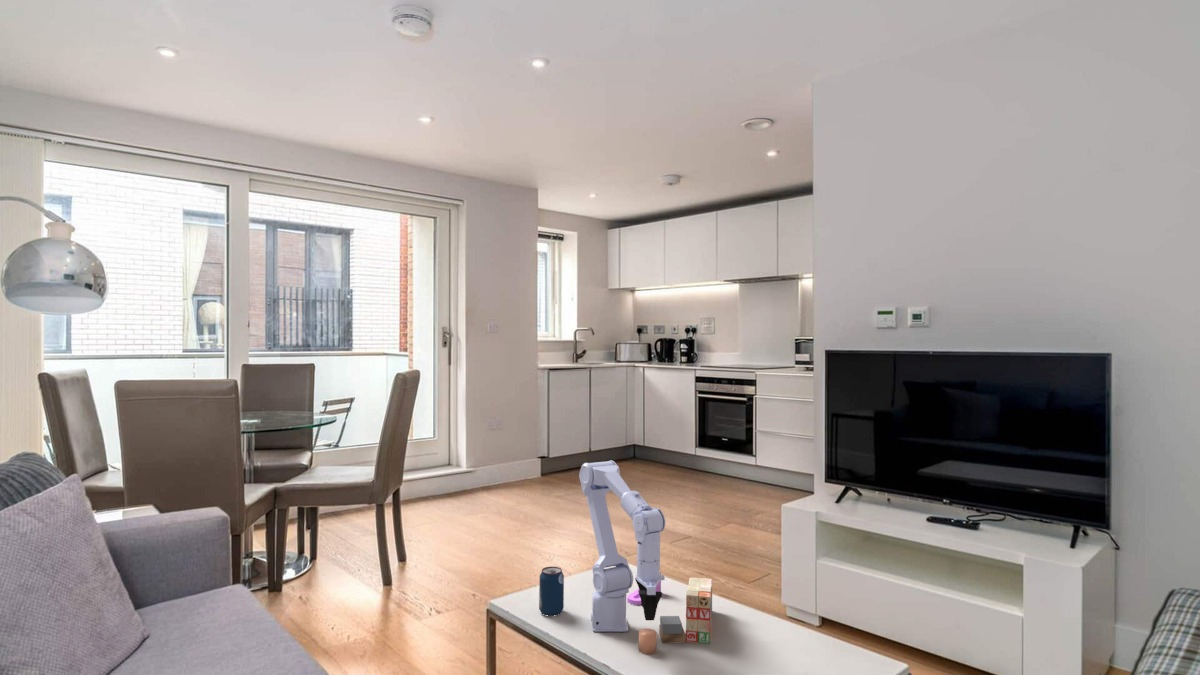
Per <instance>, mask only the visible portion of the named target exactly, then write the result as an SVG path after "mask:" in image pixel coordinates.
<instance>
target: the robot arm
mask: <svg viewBox="0 0 1200 675" xmlns="http://www.w3.org/2000/svg"><path fill="white" fill-rule="evenodd" d="M578 476H579V481H580V486H581V490H582V494H583V495H584V496H585V497H586V502H587V506H588V511H589V515H590V520H591V524H592V529H593V535H594V538H595V542H596V547H597V551H598V552H597V553H598V557H599V558H598V559H597V560H596V562H595V563H594V565H592V568H591V569H592V574H593V578H592V583H593V588H594V590H595V591H596V592H595V591H594V592H592V598H591V599H592V602H591V603H592V605H591V606H592V608H591V610H592V612H591V614H590V621H591V623H592V625H591V626H592V631H593V632H596V633H598V632H599V633H602V632H604V633H605V632H611V633H612V632H616V633H617V632H629V626H628V625H629V624H628V620H627V619H628V618H627V594H628V593H630V592H629V591H630V589H631V588H632V587H633V584H634V579H635V582H636V584H637V586H638V589H639V590H638V592H639V595H640V597H639V598H641V603H642V605H641V606H642V609H643V614H644V619H645V621H655V618H656V613H657V608H658V605H659V602H660V601H661V598H662V597H663V592H662V591H661V592H656V586H657V585H658V583H659V582H660V581H661V582H662V581H665V575H664V574H661V575H660V573H661V532H663V531H664V530H665V527H666V518H665V515H664V513H663V512H662V510H661V509H660V508H659V507H654V506H651V505H650V504H649V503H648V502H647V501H646V500H645V498H643V496H642V495H641V494H640V492H639V491H637V490H631V488H630V487H629V486H628V485H627V483H626V482H625V480H624V479H623V478H622V476H621V472H620V467H619V465H618V464H617V463H616V462H615V461H614V460H608V461H598V462H597V461H596V462H584V463H583V464H582V465H581V467H580V471H579V475H578ZM610 492H612V493H613V494H614V495H616V497H617V498H619V499H620V507H621V509H623V511H624V512H625V513H626V514H627V516H628V517H629V518H630V519H631V520H632V527H633V530H634V537H635V541H636V543H637V545H636V547H637V548H636V549H637V550H636V552H637V553H636V576H635V578H634V574H633V572H632V569H631V568H630V565H629V562H628V559H627V558H626V557H624V556H622V555H621V554H620V553H619V552H618V547H617V544H616V539H615V535H614V530H613V526H612V522H611V518H610V517H611V516H610V514H609V509H608V504H607V500H606V496H607V494H608V493H610Z"/></svg>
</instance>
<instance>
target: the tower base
mask: <svg viewBox="0 0 1200 675" xmlns="http://www.w3.org/2000/svg"><path fill="white" fill-rule="evenodd" d="M658 629H659V630H658V632H659V636H660V641H661V643H662V644H674V643H675V644H681V643H682V644H684V643H686V631H685V630H684V627H683V626H682V634H662V630H661V627H660V624H659V625H658Z"/></svg>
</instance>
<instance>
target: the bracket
mask: <svg viewBox="0 0 1200 675" xmlns="http://www.w3.org/2000/svg"><path fill="white" fill-rule="evenodd" d="M660 575H662V574H661V572H660ZM638 590H639V588H637V589H636V590H634V591H633V592H631V593H630V594H628V595H626V603H628V604H629V603H630V605H632V604H634V606H642V605H641V604H642V603H641V598H640V595H639V592H638ZM656 592H662V580H661V581H660V582H659V583H658V585H657V586H656ZM638 597H639V598H638Z"/></svg>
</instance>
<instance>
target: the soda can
mask: <svg viewBox="0 0 1200 675" xmlns="http://www.w3.org/2000/svg"><path fill="white" fill-rule="evenodd" d="M538 586H539V593H538V594H539V595H538V597H539V598H538V608H539V609H538V610H539V612H540V614H542V615H543V614H544V615H543V616H545V615H548V616H547V617H555V616H554V615H557V616H559V615H560V613H561V614H562V613H563V610H564V607H565V603H564V600H565V596H564V595H565V593H564V591H565V575H564V573H563V570H562V568H561V567H559V566H546V567H544V568H543V567H542V569H541V572H540V574H539V585H538ZM558 614H559V615H558Z"/></svg>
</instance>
